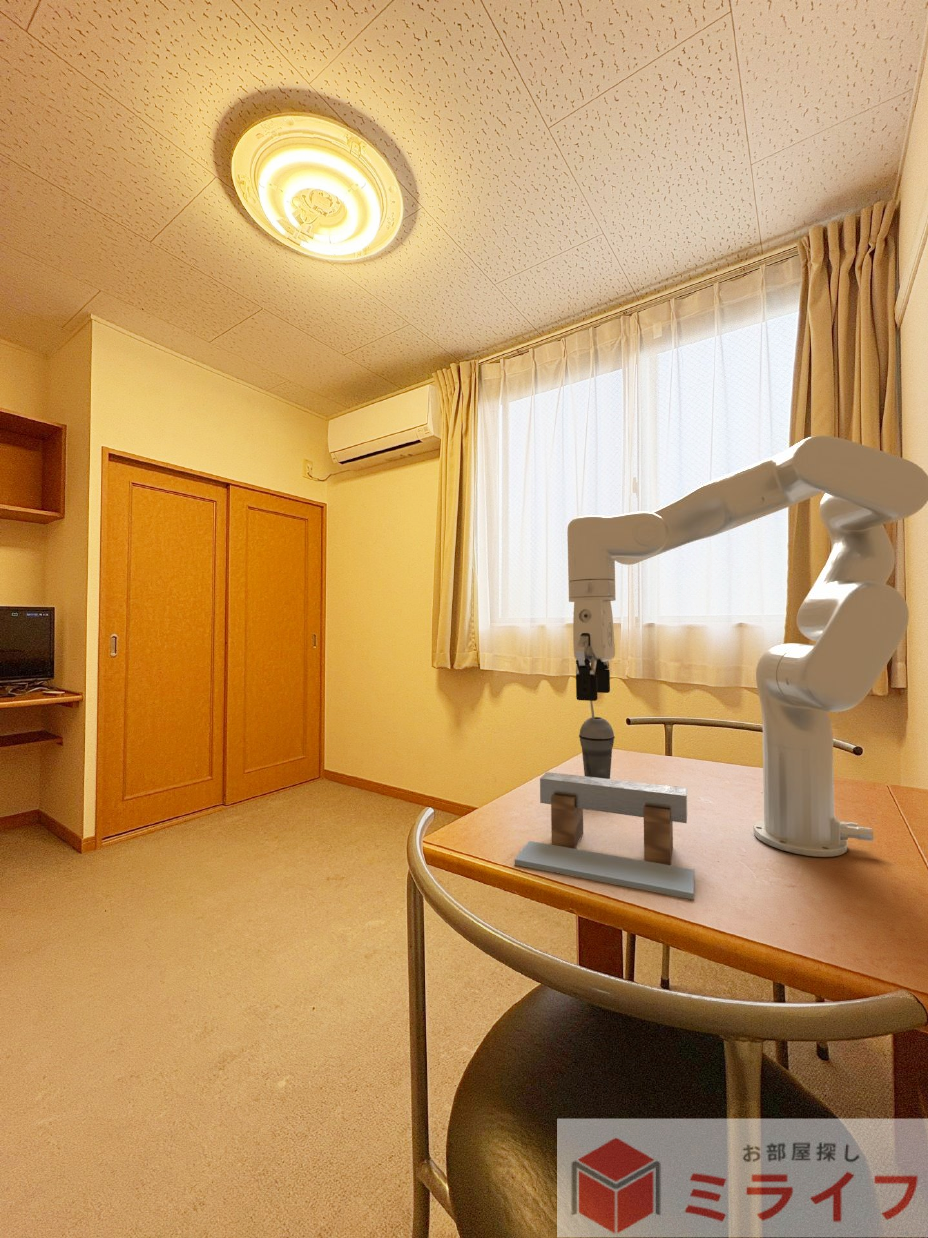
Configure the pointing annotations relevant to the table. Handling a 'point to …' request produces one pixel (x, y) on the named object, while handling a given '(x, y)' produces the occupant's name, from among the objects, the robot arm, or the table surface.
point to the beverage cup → (596, 746)
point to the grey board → (609, 869)
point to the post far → (565, 821)
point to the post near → (658, 835)
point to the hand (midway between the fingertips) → (594, 696)
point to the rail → (615, 795)
